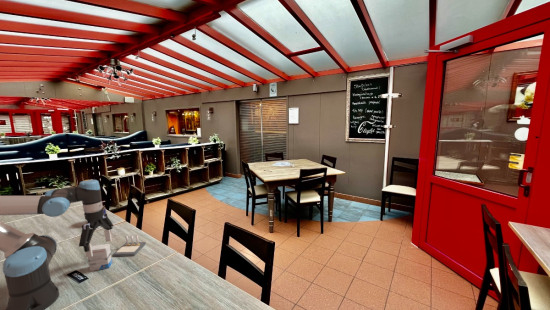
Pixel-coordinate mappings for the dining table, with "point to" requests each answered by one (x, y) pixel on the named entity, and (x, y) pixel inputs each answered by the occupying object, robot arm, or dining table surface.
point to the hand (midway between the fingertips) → (99, 248)
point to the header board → (130, 247)
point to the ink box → (100, 257)
